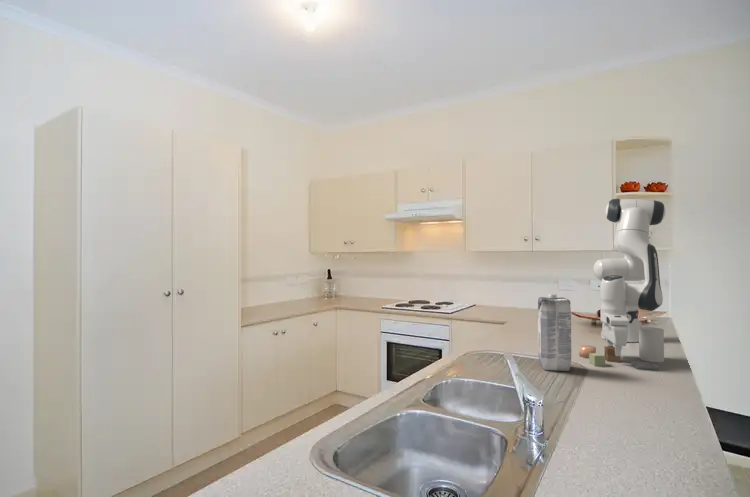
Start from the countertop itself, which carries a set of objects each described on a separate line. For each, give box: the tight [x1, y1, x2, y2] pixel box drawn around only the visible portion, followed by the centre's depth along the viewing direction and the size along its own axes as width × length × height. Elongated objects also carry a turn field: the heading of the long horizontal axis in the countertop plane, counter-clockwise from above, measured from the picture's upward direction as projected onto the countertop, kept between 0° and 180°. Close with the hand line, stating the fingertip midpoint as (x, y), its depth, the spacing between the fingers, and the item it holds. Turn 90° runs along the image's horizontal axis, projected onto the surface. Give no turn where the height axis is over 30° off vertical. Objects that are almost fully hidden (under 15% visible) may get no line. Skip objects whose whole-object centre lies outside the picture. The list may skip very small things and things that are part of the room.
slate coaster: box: [630, 361, 660, 371], centre depth 154 cm, size 7×7×1 cm
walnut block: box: [603, 345, 622, 363], centre depth 163 cm, size 4×4×5 cm
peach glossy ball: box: [578, 344, 597, 359], centre depth 169 cm, size 6×6×4 cm
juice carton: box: [537, 293, 572, 372], centre depth 153 cm, size 9×10×27 cm
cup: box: [638, 326, 665, 363], centre depth 164 cm, size 8×8×12 cm
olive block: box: [588, 352, 606, 367], centre depth 157 cm, size 4×4×4 cm
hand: (613, 353), depth 162 cm, fingers open, 8 cm apart
